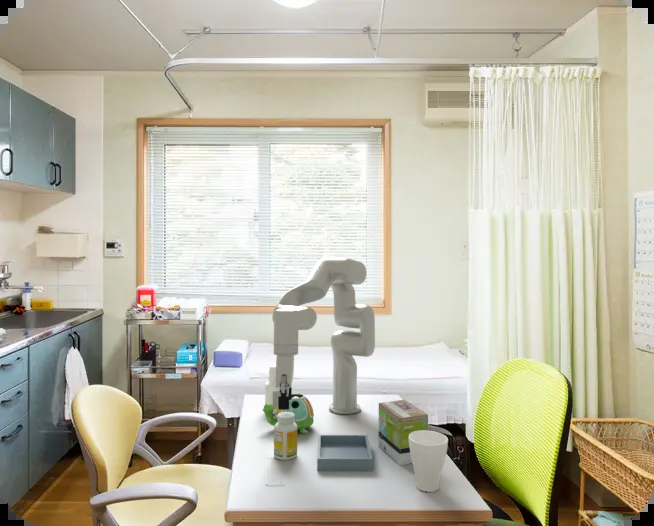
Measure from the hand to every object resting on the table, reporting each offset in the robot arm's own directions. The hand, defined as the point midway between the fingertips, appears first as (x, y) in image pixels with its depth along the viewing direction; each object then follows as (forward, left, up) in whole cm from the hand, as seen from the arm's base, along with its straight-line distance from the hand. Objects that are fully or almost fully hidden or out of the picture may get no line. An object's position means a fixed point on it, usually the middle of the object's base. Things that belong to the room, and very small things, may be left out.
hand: (285, 404), depth 149 cm
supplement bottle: (0, 0, -16) cm, 16 cm away
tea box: (-2, +37, -17) cm, 40 cm away
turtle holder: (-22, 0, -17) cm, 28 cm away
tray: (+1, +18, -16) cm, 24 cm away
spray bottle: (-40, -8, -16) cm, 44 cm away
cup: (+19, +40, -16) cm, 47 cm away
